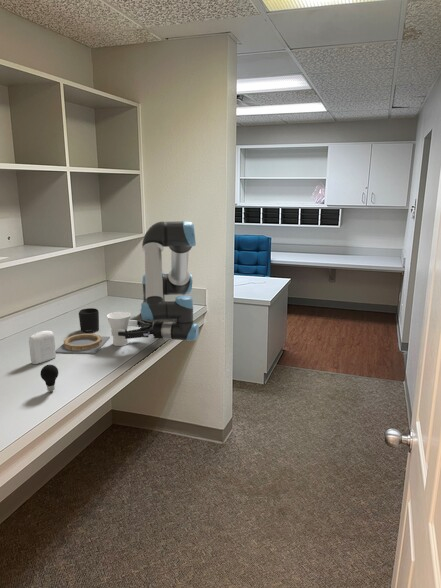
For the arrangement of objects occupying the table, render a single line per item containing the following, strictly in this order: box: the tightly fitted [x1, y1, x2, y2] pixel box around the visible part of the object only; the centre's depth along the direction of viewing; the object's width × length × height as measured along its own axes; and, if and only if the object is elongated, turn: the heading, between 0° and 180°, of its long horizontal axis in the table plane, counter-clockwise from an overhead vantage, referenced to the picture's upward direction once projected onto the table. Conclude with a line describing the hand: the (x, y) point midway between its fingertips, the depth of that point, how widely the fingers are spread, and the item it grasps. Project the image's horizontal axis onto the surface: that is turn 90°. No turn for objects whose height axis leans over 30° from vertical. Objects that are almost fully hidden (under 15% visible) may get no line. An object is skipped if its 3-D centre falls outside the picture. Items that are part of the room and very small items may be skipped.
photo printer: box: [28, 330, 57, 365], centre depth 182 cm, size 10×4×12 cm, turn 144°
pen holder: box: [78, 307, 100, 334], centre depth 218 cm, size 9×9×10 cm
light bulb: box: [40, 364, 59, 393], centre depth 155 cm, size 6×6×10 cm
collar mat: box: [55, 335, 111, 355], centre depth 200 cm, size 20×18×1 cm
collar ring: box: [63, 333, 102, 351], centre depth 200 cm, size 16×16×2 cm
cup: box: [106, 311, 132, 347], centre depth 200 cm, size 10×10×14 cm
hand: (117, 327), depth 200 cm, fingers open, 13 cm apart
